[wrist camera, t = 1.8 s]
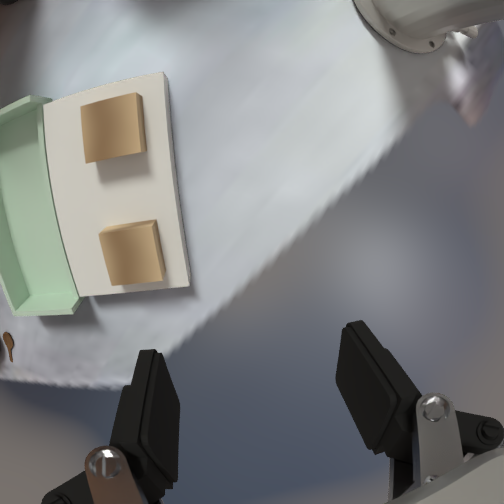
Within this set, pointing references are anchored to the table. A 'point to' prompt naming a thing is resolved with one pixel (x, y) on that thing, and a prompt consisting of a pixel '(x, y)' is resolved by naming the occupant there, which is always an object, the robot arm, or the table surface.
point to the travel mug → (7, 2)
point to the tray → (31, 218)
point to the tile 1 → (113, 127)
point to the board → (115, 186)
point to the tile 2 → (133, 253)
